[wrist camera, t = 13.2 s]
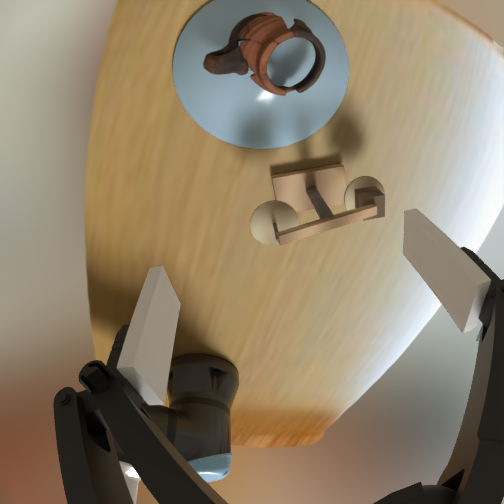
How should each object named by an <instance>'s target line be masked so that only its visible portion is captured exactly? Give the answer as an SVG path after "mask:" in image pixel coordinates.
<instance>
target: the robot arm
mask: <svg viewBox="0 0 504 504" xmlns="http://www.w3.org/2000/svg"><path fill="white" fill-rule="evenodd" d="M403 254H404V256H405V257H406V258H407V259H408V260H409V262H410V263H411V264H412V265H413V267H414V268H415V269H416V270H417V272H418V273H419V274H420V276H421V277H422V278H423V279H424V281H425V282H426V283H427V285H428V286H429V287H430V289H431V290H432V291H433V292H434V294H435V295H436V297H437V298H438V299H439V301H440V302H441V303H442V305H443V306H444V307H445V309H446V310H447V312H448V313H449V314H450V316H451V317H452V319H453V320H454V322H455V323H456V324H457V326H458V327H459V329H460V330H461V332H462V333H465V332H468V331H470V330H472V329H474V328H475V327H476V324H477V322H478V319H480V321H481V322H482V323H483V325H482V327H481V330H480V332H479V334H478V337H477V340H476V341H478V340H479V347H478V353H477V359H476V365H475V371H474V376H473V381H472V385H471V390H470V394H469V399H468V403H467V407H466V411H465V414H464V418H463V421H462V425H461V428H460V432H459V435H458V438H457V441H456V444H455V447H454V450H453V453H452V456H451V458H450V461H449V463H448V465H447V466H446V468H445V470H444V471H443V473H442V475H441V477H440V479H439V481H438V483H437V485H423V486H422V484H421V482H419V483H416V484H414V485H411V486H409V487H406V488H404V489H401V490H398V491H396V492H393V493H391V494H389V495H387V496H386V497H384V498H382V499H381V500H379V501H377V502H375V503H374V504H501V502H502V500H503V497H504V279H503V280H501V279H500V278H499V277H498V276H497V275H496V274H495V273H494V272H493V271H492V270H491V269H490V268H489V267H488V266H487V265H486V264H484V262H483V261H482V260H481V259H479V257H478V256H477V255H476V254H475V253H474V252H473V251H471V250H469V249H467V248H465V247H461V248H459V247H458V246H457V245H456V244H455V243H454V242H453V241H452V240H451V239H450V238H449V237H448V236H447V235H446V234H445V233H443V232H442V231H441V230H440V229H439V228H438V227H437V226H436V225H435V224H433V223H432V222H431V221H430V220H429V219H428V218H427V217H425V216H424V215H423V214H422V213H421V212H420V211H419V210H417V209H411V210H406V211H404V244H403ZM180 305H181V304H180V302H179V300H178V298H177V295H176V293H175V291H174V289H173V287H172V285H171V283H170V280H169V278H168V276H167V274H166V272H165V270H164V267H163V265H162V266H157V267H153V268H150V269H149V272H148V274H147V277H146V280H145V282H144V285H143V288H142V291H141V294H140V296H139V299H138V302H137V305H136V308H135V311H134V314H133V317H132V320H131V323H130V324H129V325H123V326H122V328H121V329H120V330H119V331H118V333H117V335H116V338H115V341H114V344H113V346H112V351H111V352H110V355H109V358H108V362H107V365H106V366H105V364H104V363H103V362H102V361H98V360H95V361H91V362H89V363H87V364H86V365H85V366H84V367H83V368H82V370H81V371H80V373H79V382H80V383H81V384H82V385H83V386H84V387H85V388H86V389H87V390H84V391H81V392H78V393H77V392H76V391H75V390H74V389H73V388H71V387H65V388H63V389H61V390H60V391H59V392H58V393H57V394H56V396H55V398H54V419H55V430H56V439H57V448H58V455H59V462H60V468H61V474H62V479H63V484H64V490H65V494H66V499H67V502H68V504H136V498H137V490H138V483H139V481H140V480H142V481H143V483H144V484H145V485H146V487H147V488H148V490H149V491H150V492H151V494H152V495H153V496H154V498H155V499H156V500H157V501H158V503H159V504H228V503H227V502H226V501H225V500H224V499H223V498H222V497H221V496H220V495H219V494H217V492H216V491H214V490H213V489H212V488H211V487H210V486H209V484H207V482H211V481H216V480H219V479H222V478H224V477H226V476H227V475H228V473H229V472H230V464H231V456H232V454H231V431H230V408H231V406H232V403H233V401H234V398H235V395H236V393H237V390H238V387H239V374H238V371H237V370H236V368H235V367H234V366H233V365H232V364H230V363H229V362H227V361H225V360H223V359H221V358H218V357H215V356H211V355H205V354H189V355H183V356H179V357H177V358H175V359H173V360H171V358H172V351H173V345H174V339H175V333H176V328H177V322H178V316H179V311H180ZM479 338H480V339H479ZM166 391H167V394H168V398H169V403H170V404H169V408H168V407H165V406H162V405H164V404H165V399H166Z"/></svg>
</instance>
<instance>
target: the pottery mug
mask: <svg viewBox="0 0 504 504" xmlns="http://www.w3.org/2000/svg"><path fill="white" fill-rule="evenodd" d="M294 22H295V23H294V24H293V26H292V27H290V28H289V29H288V28H287V25H286V24H285V22H284V20H283V18H282V17H281V16H278V15H275V14H274V13H271V12H263V13H257V14H253V15H250V16H247V17H245V18H244V19H242V20H241V21H239V22H238V23H237V24H236V25H235V27H234V28H233V30H232V31H231V34H230V37H229V43H228V45H226V46H225V47H224V48H222V49H221V50H217V51H214V52H211V53H208V54H207V55H206V56H205V59H204V62H203V67H204V69H205V70H207V71H208V72H209V73H212V74H215V75H221V74H230V73H237V74H238V75H245V74H247V73H248V71H249V68H250V70H251V71H253V73H254V74H252V75H251V76H250V78H251V79H252V80H253V81H254V82H255V83H256V84H257V85H258V86H259V87H261V88H263V89H264V90H266V91H268V92H270V93H273V94H276V95H281V96H285V95H286V93H288V92H291V91H294V90H296V91H297V92H298V93H302V92H304V91H306V90H307V89H309V88H310V87H311V86H312V85H314V83H315V82H316V81H317V80H318V79H319V77H320V75H321V72H322V71H323V69H324V67H325V61H326V53H325V49H324V46H323V45H322V43H321V42H320V40H319V39H318V38H317V37H316V36H315V35H314V34H313V33H312V31H311V29H310V28H309V27H308V26H307V25H306V24H305V22H303V21H301V20H299V19H294ZM294 37H298V38H304V39H306V40H308V41H310V42H311V43H312V45H313V47H314V49H315V62H314V65H313V66H312V68H311V70H310V72H309V73H308V74H307V76H306V77H305V78H304V79H303V80H302V81H300V82H299V83H297V84H295V85H293V86H291V87H287V86H276V85H275V84H273V83H272V82H271V80H270V78H269V76H268V73H267V65H268V61H269V58H270V56H271V54H272V52H273V51H274V50H275V48H276V47H277V46H278V45H279V44H281V43H282V42H284V41H286V40H288V39H292V38H294ZM243 40H244V41H243ZM239 41H243V42H242V43H241V44H240V46H239V43H238V42H239Z"/></svg>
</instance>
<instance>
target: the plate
mask: <svg viewBox="0 0 504 504" xmlns="http://www.w3.org/2000/svg"><path fill="white" fill-rule="evenodd" d="M263 12H271V13H274V14H275V15H278V16H281V17H282V18H283V20H284V22H285V24H286V25H287V28H288V29H289V28H290V27H292V26H293V24H294V23H295V22H294V19H299V20H301V21H303V22H305V24H306V25H307V26H308V27H309V28H310V29H311V31H312V33H313V34H314V35H315V36H316V37H317V38H318V39H319V40H320V42H321V43H322V45H323V46H324V49H325V53H326V61H325V67H324V69H323V71H322V72H321V75H320V77H319V79H318V80H317V81H316V82H315V83H314V85H312V86H311V87H310V88H309V89H307V90H306V91H304V92H302V93H298V92H297V91H296V90H294V91H291V92H288V93H286V95H285V96H281V95H276V94H273V93H270V92H268V91H266V90H264V89H263V88H261V87H259V86H258V85H257V84H256V83H255V82H254V81H253V80H252V79H251V78H250V76H251V75H252V74H254V73H253V71H251V70H250V68H249V71H248V73H247V74H245V75H238V74H237V73H230V74H221V75H215V74H212V73H209V72H208V71H207V70H205V69H204V67H203V62H204V59H205V56H206V55H207V54H208V53H211V52H214V51H217V50H221V49H222V48H224V47H225V46H226V45H228V43H229V37H230V34H231V31H232V30H233V28H234V27H235V25H236V24H237V23H238V22H239V21H241V20H242V19H244V18H245V17H247V16H250V15H253V14H257V13H263ZM243 41H244V40H243ZM243 41H239V42H238V43H239V46H240V44H241V43H242V42H243ZM314 62H315V49H314V47H313V45H312V43H311V42H310V41H308V40H306V39H304V38H298V37H294V38H292V39H288V40H286V41H284V42H282V43H281V44H279V45H278V46H277V47H276V48H275V50H274V51H273V52H272V54H271V56H270V58H269V61H268V65H267V73H268V76H269V78H270V80H271V82H272V83H273V84H275V85H276V86H287V87H291V86H293V85H295V84H297V83H299V82H300V81H302V80H303V79H304V78H305V77H306V76H307V74H308V73H309V72H310V70H311V68H312V66H313V65H314ZM173 78H174V83H175V87H176V90H177V93H178V96H179V98H180V100H181V102H182V104H183V106H184V108H185V109H186V111H187V112H188V114H189V115H190V116H191V117H192V118H193V119H194V121H195V122H196V123H197V124H198V125H200V126H201V127H202V128H203V129H204V130H206V131H207V132H209V133H210V134H212V135H213V136H215V137H217V138H219V139H221V140H223V141H225V142H228V143H231V144H233V145H237V146H241V147H246V148H254V149H270V148H278V147H283V146H287V145H291V144H293V143H296V142H299V141H301V140H303V139H305V138H307V137H309V136H311V135H312V134H314V133H315V132H316V131H318V130H319V129H320V128H322V127H323V126H324V125H325V124H326V123H327V122H328V121H329V120H330V119H331V117H332V116H333V115H334V114H335V112H336V111H337V109H338V108H339V106H340V104H341V102H342V100H343V98H344V95H345V92H346V89H347V84H348V78H349V62H348V55H347V51H346V47H345V45H344V42H343V40H342V37H341V35H340V34H339V32H338V30H337V28H336V27H335V26H334V24H333V23H332V22H331V20H330V19H329V18H328V17H327V16H326V15H325V14H324V13H323V12H322V11H321V10H319V9H318V8H317V7H316V6H314V5H313V4H311V3H310V2H308V1H306V0H214V1H212V2H210V3H209V4H207V5H206V6H205V7H203V8H202V9H201V10H200V11H199V12H198V13H196V14H195V15H194V16H193V18H192V19H191V20H190V21H189V22H188V24H187V25H186V27H185V28H184V30H183V32H182V33H181V35H180V37H179V40H178V42H177V45H176V49H175V52H174V59H173Z"/></svg>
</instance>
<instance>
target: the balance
mask: <svg viewBox="0 0 504 504" xmlns="http://www.w3.org/2000/svg"><path fill="white" fill-rule="evenodd" d="M272 181H273V186H274V192H275V197H276V201H268V202H265V203H263V204H261V205H260V206H258V207H257V208H256V209H255V211H254V212H253V214H252V216H251V220H250V227H251V231H252V234H253V235H254V237H255V238H256V239H257V240H258V241H260V242H261V243H263V244H266V245H272V246H273V245H283V244H286V243H290V242H293V241H296V240H299V239H302V238H305V237H309V236H312V235H315V234H318V233H321V232H324V231H327V230H331V229H334V228H337V227H340V226H343V225H346V224H350V223H353V222H356V221H359V220H362V219H363V220H369V219H374V218H380V217H385V192H384V188H383V186H382V184H381V183H380V182H379V181H378V180H376V179H375V178H373V177H370V176H361V177H358V178H356V179H354V180H353V181H352V182H351V183H350V184H349V185H348V186H347V188H346V180H345V169H344V166H343V165H342V164H336V165H329V166H323V167H317V168H311V169H305V170H299V171H293V172H288V173H282V174H277V175H272ZM343 203H344V204H345V206H346V208H347V210H348V211H346V212H342V213H339V214H336V215H333V214H332V212H331V210H330V209H329V207H328V206H332V205H338V204H343ZM310 209H315V210H316V212H317V214H318V216H319V218H320V219H319V220H316V221H313V222H309V223H306V224H303V225H299V220H298V216H297V214H296V212H299V211H305V210H310Z"/></svg>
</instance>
